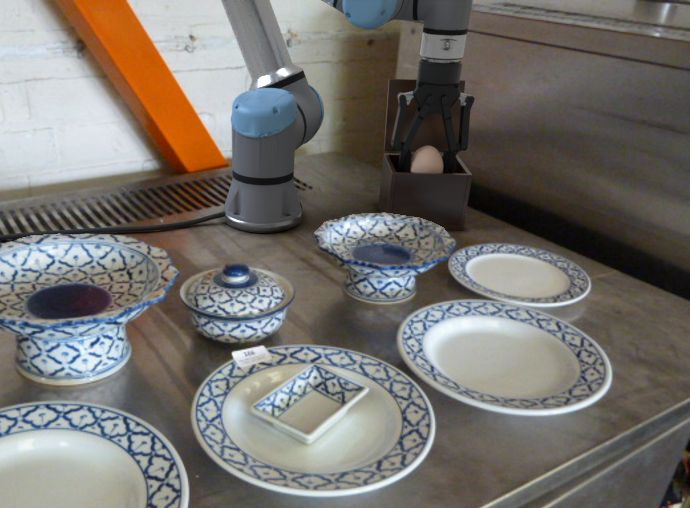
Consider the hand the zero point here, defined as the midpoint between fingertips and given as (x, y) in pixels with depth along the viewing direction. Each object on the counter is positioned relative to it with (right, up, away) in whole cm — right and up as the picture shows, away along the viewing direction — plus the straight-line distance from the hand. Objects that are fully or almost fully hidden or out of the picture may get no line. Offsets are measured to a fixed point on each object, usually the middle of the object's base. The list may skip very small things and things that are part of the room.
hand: (423, 185), depth 127 cm
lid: (0, +14, +1) cm, 14 cm away
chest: (0, -6, +3) cm, 7 cm away
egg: (0, 0, 0) cm, 0 cm away
